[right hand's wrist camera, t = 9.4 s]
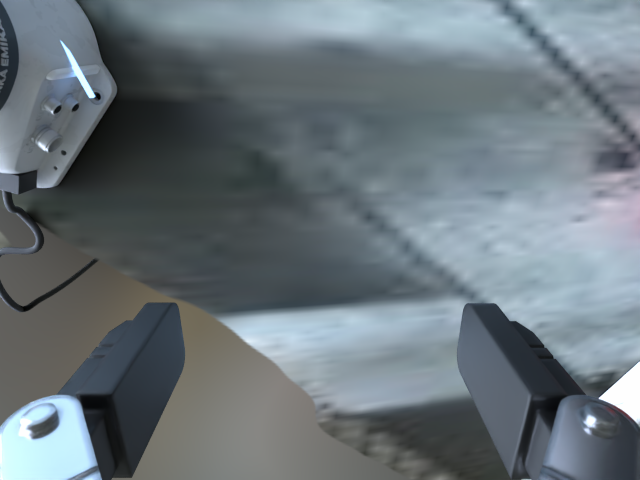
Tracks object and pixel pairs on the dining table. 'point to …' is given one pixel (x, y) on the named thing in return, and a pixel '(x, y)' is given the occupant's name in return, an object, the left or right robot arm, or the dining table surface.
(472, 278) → the dining table surface
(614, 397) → the relief map
